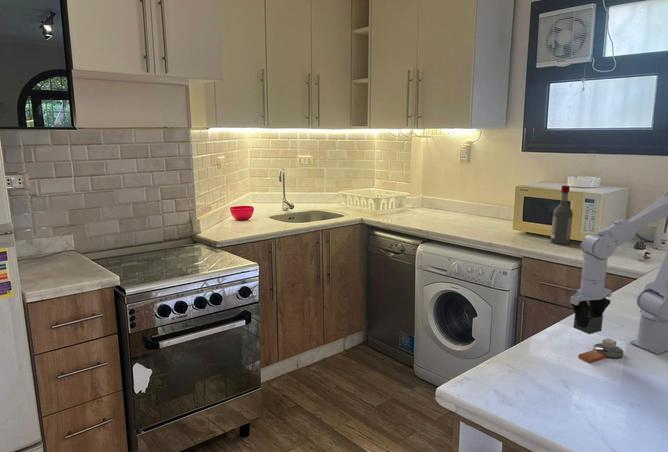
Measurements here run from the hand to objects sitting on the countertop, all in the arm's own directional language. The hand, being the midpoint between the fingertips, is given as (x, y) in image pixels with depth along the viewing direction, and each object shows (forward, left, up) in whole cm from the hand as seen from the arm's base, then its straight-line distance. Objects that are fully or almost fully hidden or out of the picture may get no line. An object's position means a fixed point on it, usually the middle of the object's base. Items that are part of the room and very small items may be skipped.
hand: (587, 324), depth 138 cm
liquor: (-99, -88, -8) cm, 132 cm away
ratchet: (0, +5, -7) cm, 9 cm away
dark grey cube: (0, 0, -2) cm, 2 cm away
